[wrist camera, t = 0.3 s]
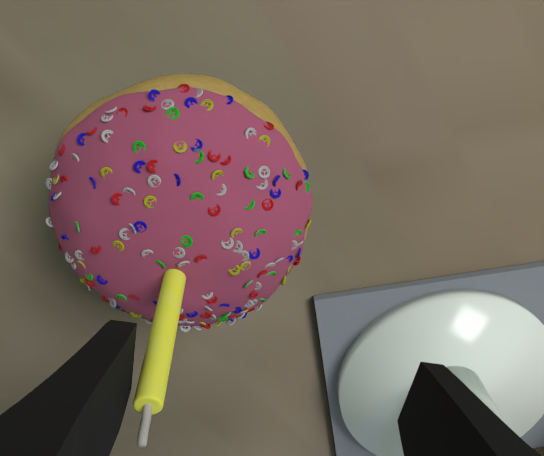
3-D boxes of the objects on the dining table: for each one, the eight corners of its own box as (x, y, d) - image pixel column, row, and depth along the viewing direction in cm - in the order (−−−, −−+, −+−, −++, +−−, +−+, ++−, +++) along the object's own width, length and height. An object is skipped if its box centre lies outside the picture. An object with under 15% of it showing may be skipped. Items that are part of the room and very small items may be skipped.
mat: (546, 440, 27) (550, 445, 27) (338, 468, 28) (339, 474, 27) (568, 257, 22) (574, 261, 22) (313, 295, 22) (314, 300, 22)
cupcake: (300, 256, 22) (345, 506, 11) (113, 263, 21) (-34, 525, 11) (299, 56, 18) (365, 130, 7) (74, 65, 18) (-210, 151, 7)
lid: (542, 440, 26) (604, 533, 22) (347, 467, 27) (366, 564, 22) (561, 272, 22) (645, 344, 17) (325, 307, 22) (344, 387, 18)
